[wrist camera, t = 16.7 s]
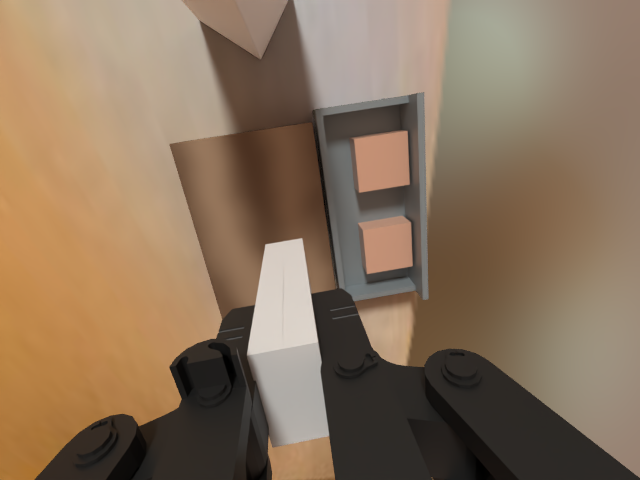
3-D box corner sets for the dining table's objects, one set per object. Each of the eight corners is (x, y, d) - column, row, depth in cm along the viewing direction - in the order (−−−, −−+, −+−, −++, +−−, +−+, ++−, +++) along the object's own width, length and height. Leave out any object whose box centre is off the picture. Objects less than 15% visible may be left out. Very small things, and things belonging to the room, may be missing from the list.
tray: (337, 290, 38) (344, 313, 33) (312, 110, 30) (317, 108, 26) (411, 277, 38) (428, 298, 33) (403, 97, 31) (423, 92, 26)
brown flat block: (231, 301, 37) (223, 323, 32) (185, 141, 30) (169, 144, 26) (332, 283, 37) (338, 303, 33) (309, 122, 31) (312, 122, 27)
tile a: (412, 266, 34) (404, 257, 36) (410, 222, 32) (402, 215, 34) (367, 274, 34) (362, 264, 36) (362, 230, 32) (357, 223, 34)
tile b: (409, 184, 31) (401, 180, 33) (407, 130, 29) (398, 130, 31) (359, 192, 30) (354, 187, 33) (354, 139, 29) (349, 137, 31)
